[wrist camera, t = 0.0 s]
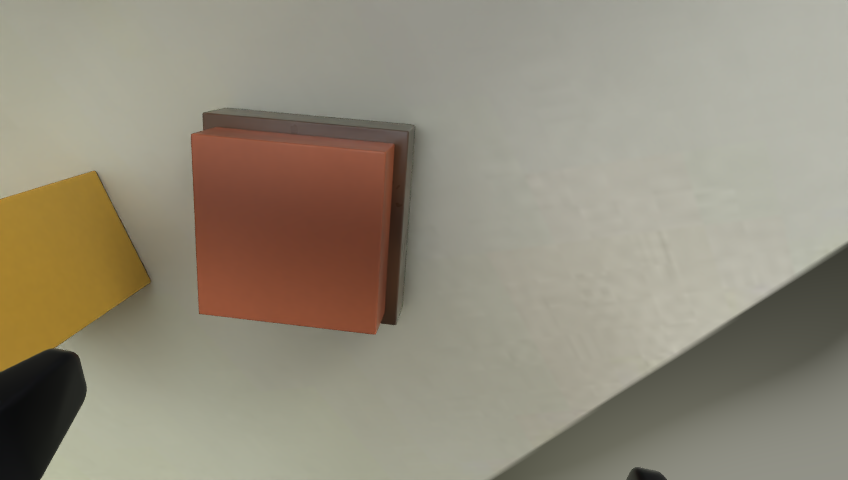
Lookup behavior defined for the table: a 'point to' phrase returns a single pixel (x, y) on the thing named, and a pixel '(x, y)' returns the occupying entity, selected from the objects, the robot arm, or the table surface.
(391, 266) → the stack
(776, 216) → the table surface
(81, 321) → the yellow block
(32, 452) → the robot arm
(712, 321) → the table surface
